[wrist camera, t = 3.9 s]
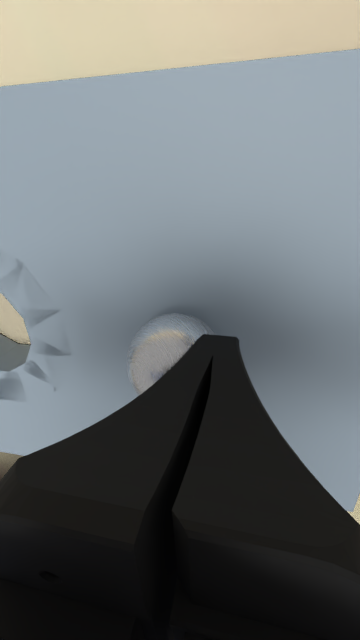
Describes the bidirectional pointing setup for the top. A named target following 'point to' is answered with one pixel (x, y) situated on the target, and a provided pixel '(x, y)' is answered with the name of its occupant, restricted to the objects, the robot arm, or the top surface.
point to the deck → (187, 242)
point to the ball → (161, 347)
